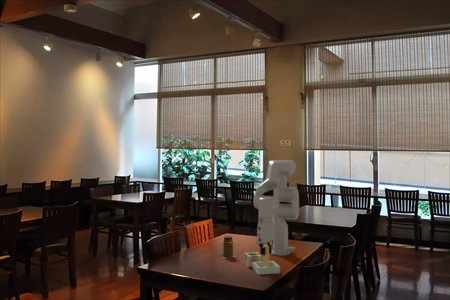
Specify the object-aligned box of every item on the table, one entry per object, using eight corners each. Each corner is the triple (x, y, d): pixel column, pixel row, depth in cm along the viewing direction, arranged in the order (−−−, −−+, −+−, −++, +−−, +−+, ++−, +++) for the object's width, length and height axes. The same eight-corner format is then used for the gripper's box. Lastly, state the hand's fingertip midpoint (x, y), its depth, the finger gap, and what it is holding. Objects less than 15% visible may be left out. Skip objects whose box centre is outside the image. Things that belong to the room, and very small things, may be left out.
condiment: (235, 256, 247) (235, 237, 247) (224, 258, 242) (224, 238, 242) (229, 254, 253) (229, 235, 253) (218, 256, 248) (217, 237, 248)
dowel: (270, 268, 216) (270, 246, 216) (266, 269, 213) (265, 247, 213) (265, 266, 218) (265, 244, 219) (261, 267, 216) (261, 245, 216)
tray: (273, 267, 223) (273, 260, 223) (280, 273, 211) (279, 266, 211) (252, 268, 220) (252, 261, 221) (258, 274, 209) (258, 267, 209)
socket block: (257, 262, 232) (257, 252, 233) (261, 266, 225) (261, 255, 225) (244, 263, 231) (244, 252, 231) (247, 267, 223) (247, 256, 223)
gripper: (259, 222, 208) (260, 257, 208) (281, 219, 219) (281, 252, 218) (249, 221, 214) (250, 255, 213) (271, 217, 224) (271, 250, 224)
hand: (265, 253), depth 216 cm, fingers open, 4 cm apart
